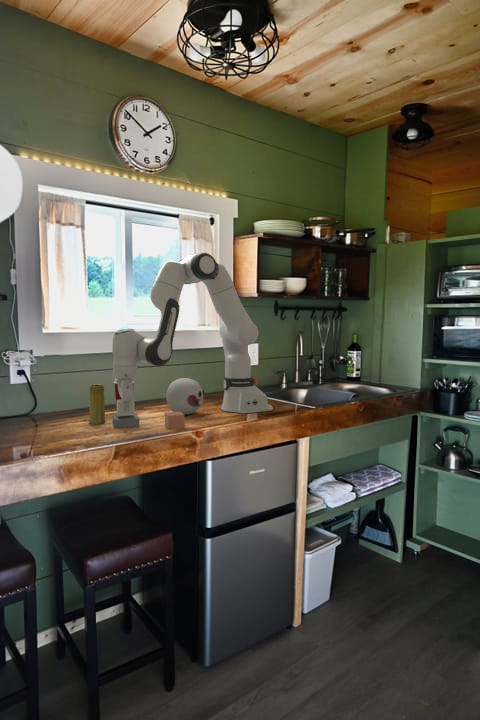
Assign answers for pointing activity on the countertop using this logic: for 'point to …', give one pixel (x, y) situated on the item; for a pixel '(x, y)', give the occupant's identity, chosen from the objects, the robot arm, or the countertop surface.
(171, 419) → the brick
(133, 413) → the brick
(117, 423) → the base
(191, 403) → the toy
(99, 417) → the vase
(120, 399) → the coffee cup
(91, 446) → the countertop surface
